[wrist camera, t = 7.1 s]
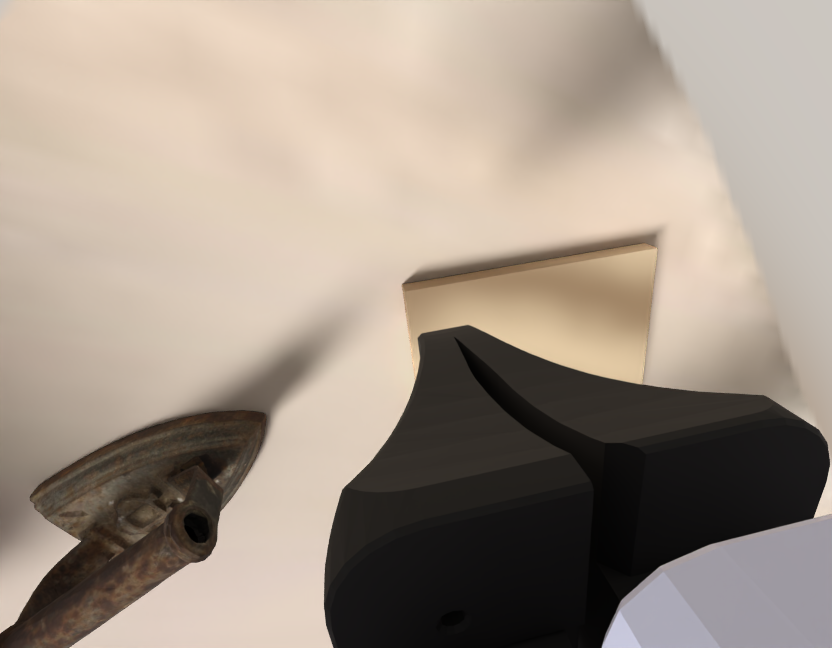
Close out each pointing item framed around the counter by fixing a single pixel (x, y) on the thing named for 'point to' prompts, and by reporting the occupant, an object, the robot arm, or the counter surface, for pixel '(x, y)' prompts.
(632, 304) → the board
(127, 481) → the clothes iron
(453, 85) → the counter surface
